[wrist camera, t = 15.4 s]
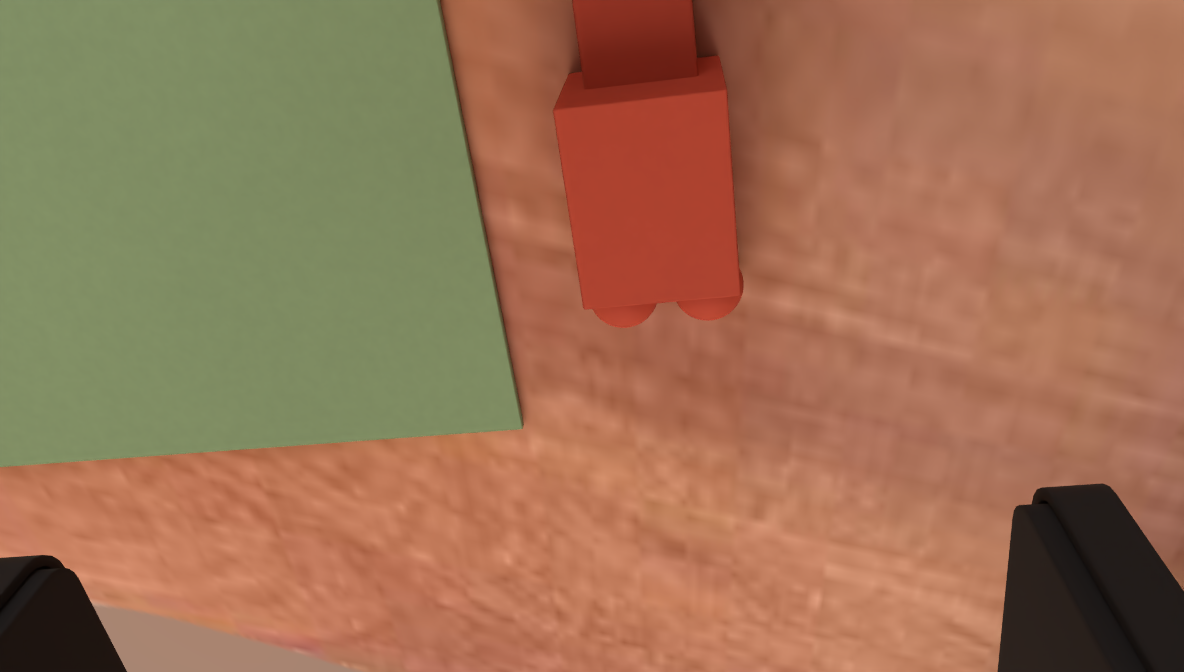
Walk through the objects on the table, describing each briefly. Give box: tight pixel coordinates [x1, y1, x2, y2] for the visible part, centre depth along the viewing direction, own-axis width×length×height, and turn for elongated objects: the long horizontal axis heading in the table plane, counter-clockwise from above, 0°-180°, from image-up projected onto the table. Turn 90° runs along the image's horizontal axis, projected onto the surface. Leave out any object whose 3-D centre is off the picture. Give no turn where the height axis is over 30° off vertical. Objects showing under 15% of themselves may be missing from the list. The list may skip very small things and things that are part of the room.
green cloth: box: [0, 0, 524, 467], centre depth 28 cm, size 15×20×1 cm
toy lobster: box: [553, 0, 743, 328], centre depth 24 cm, size 10×4×4 cm, turn 8°
